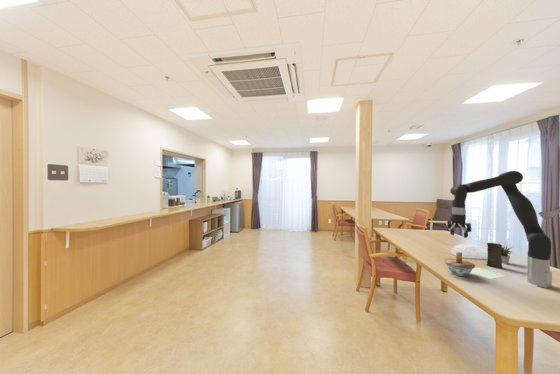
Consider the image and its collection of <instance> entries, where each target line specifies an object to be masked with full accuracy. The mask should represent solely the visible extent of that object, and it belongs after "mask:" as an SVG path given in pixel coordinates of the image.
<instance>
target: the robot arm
mask: <svg viewBox="0 0 560 374" xmlns="http://www.w3.org/2000/svg"><path fill="white" fill-rule="evenodd" d="M523 179H524V175H523V174H522V173H521V172H520V171H516V170H510V171H506V172H503V173H502V172H501V173H499V175H498V176H494V177H490V178H486V179H480V180H476V181H472V182H468V183H465V184H457V185H455V186H452V187H451V188H450V189H449V190H450V194H452V195H453V196H454V199H453V200H452V202H451V203H452V205H451V206H452V208H451V219H452V220H447V222H446V223H447V227H446V228H447V229H448V230H450V231H449V232H450V235H451V236H454V235H455V229H456V228H458V229H461V230H462V231H463V238H465V239H467V238H468V237H469V233H471V232H472V223H471V222H466V219H467V218H466V217H467V214H466V199H467V196H468V193H470V194H471V193H472V194H473V193H476V192H480V191H481V192H482V191H484V190H488V189H492V188H495V187H500V186H501V188H502V189H503V192H504V193H505V195H506V196H507V199H508V201H509V203H510V205H511V207H512V210H513V212H514V213H515V216H516V218H517V219H518V220H519V222H520V223H521V224H520V225H522V228H523V230H524V233H525V236H526V239H527V242H528V245H527V246H528V249H527V250H528V251H527V283H529V284H531V285H534V286H536V287H540V288H545V289H548V288H552V287H553V284H552V283H553V272H552V271H551V256H552V241H551V239H550V238H549V237H548V236H547V235H546V233H545V232H544V230H543V228H542V227H541V225H540V223H539V221H538V215H537V211H536V209H535V208H534V205H533V203H532V202H531V200H530V199H529V198H528V197H526V196H525V195H524V194H523V193H522V192H521V191H520V190H519V189H518V186H517V184H519V183H521V182H522V181H523Z"/></svg>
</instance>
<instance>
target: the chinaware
mask: <svg viewBox="0 0 560 374" xmlns="http://www.w3.org/2000/svg"><path fill="white" fill-rule="evenodd" d="M445 265H446V267H447V270H449V271H450V272H451V273H452V274H454V275H455V276H461V277H465V276H466V275H469V274H470V272H471V271H472V269H473V268H472V269H466V268H459V267H454V266H451V265H448V264H446V263H445Z"/></svg>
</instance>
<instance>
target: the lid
mask: <svg viewBox="0 0 560 374" xmlns="http://www.w3.org/2000/svg"><path fill="white" fill-rule="evenodd" d="M443 262H444V263H445V265H446V264H448V265H451V266H454V267H459V268H466V269H472V268H476V264H475V263H473V262H471V261H467V260H464V259H463V253H462V252H458V251H457V252H455V258H445V259H444V260H443Z"/></svg>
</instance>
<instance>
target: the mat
mask: <svg viewBox="0 0 560 374" xmlns="http://www.w3.org/2000/svg"><path fill="white" fill-rule="evenodd" d="M470 273H471V274H473V275H476V276H479V277H483V278H485V279H488V280H493V279H499V278H504V277H506V275H504V274H502V273H498V272H494V271H492V270H488V269H485V268H482V267H479V266H478V267H477V266H475V268H473V269H472V271H471V272H470ZM470 273H469V274H470Z"/></svg>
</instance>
